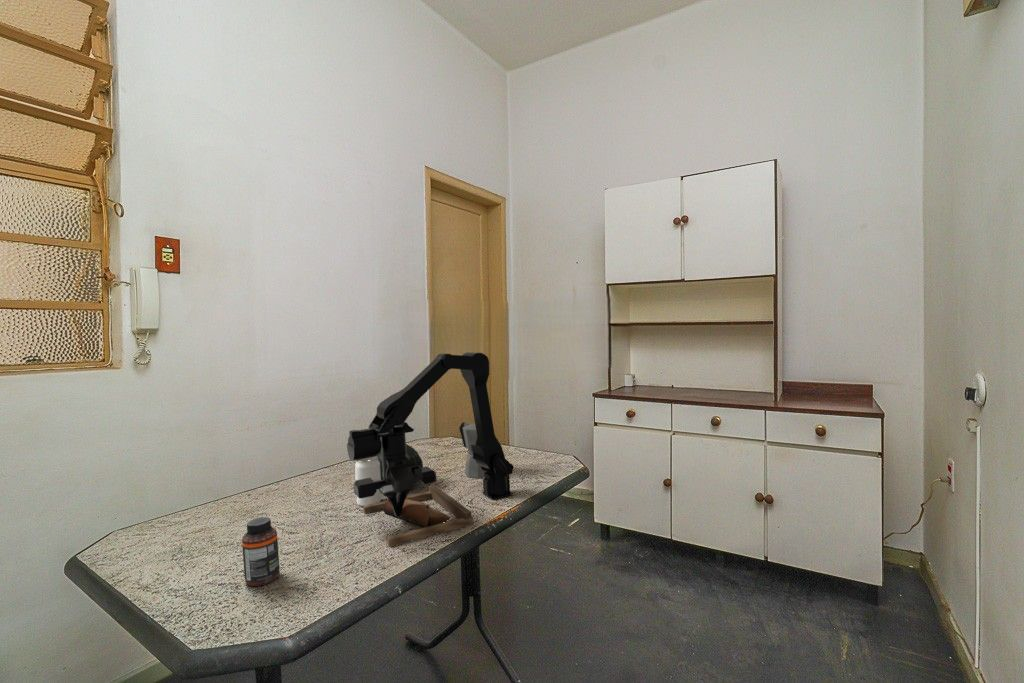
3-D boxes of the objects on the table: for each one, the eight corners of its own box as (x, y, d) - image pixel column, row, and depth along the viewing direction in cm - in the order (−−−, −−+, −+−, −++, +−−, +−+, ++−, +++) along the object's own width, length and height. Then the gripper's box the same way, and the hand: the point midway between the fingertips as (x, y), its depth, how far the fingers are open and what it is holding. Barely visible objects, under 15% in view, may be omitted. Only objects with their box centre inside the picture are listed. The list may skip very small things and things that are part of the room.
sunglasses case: (455, 518, 115) (443, 499, 113) (437, 542, 111) (424, 522, 108) (409, 503, 127) (398, 485, 124) (391, 524, 123) (378, 506, 120)
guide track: (436, 495, 132) (436, 484, 132) (473, 523, 112) (473, 511, 111) (363, 511, 122) (362, 500, 122) (389, 546, 102) (388, 533, 101)
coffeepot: (504, 474, 149) (502, 417, 148) (481, 481, 142) (479, 422, 142) (473, 465, 160) (470, 412, 159) (450, 472, 153) (447, 416, 153)
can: (374, 507, 125) (372, 462, 125) (352, 506, 126) (349, 461, 126) (386, 498, 131) (383, 455, 131) (364, 497, 133) (362, 455, 132)
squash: (433, 471, 137) (416, 427, 144) (382, 484, 128) (367, 437, 136) (421, 493, 146) (405, 451, 154) (373, 507, 138) (359, 462, 145)
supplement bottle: (253, 572, 93) (250, 515, 93) (284, 569, 94) (281, 513, 93) (238, 589, 87) (234, 528, 87) (272, 586, 88) (268, 525, 87)
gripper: (362, 467, 102) (366, 539, 103) (443, 452, 112) (446, 517, 112) (351, 456, 112) (355, 522, 113) (426, 443, 121) (430, 503, 122)
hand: (397, 516), depth 115 cm, fingers closed
